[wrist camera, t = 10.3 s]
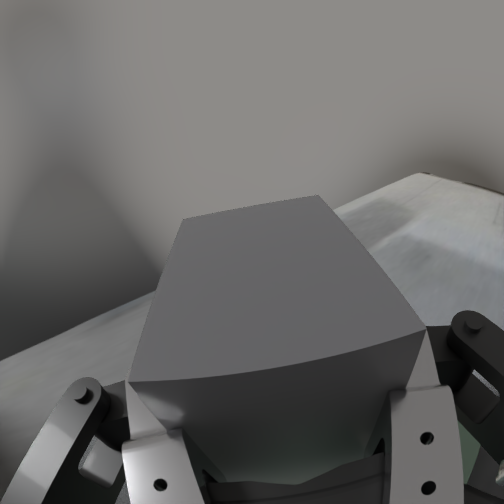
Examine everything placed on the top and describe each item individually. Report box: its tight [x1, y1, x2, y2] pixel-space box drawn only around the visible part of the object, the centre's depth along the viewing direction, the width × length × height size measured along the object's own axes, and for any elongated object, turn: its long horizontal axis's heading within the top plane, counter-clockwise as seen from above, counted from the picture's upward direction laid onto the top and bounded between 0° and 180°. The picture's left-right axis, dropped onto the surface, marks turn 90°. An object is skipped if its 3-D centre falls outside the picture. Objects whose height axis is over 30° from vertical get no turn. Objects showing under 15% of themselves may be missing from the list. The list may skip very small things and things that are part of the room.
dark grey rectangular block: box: [128, 195, 427, 485], centre depth 9 cm, size 6×4×9 cm
